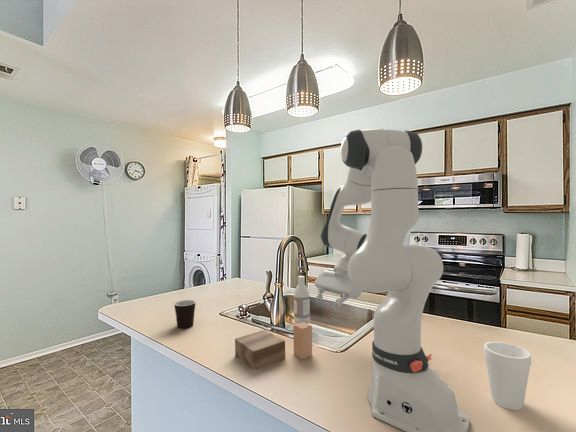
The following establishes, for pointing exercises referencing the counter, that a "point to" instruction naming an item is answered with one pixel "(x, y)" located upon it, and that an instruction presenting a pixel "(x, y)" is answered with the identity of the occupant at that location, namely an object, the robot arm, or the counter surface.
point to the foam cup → (507, 373)
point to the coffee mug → (185, 313)
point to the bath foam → (301, 302)
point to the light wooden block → (302, 340)
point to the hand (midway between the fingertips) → (327, 302)
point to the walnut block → (259, 349)
